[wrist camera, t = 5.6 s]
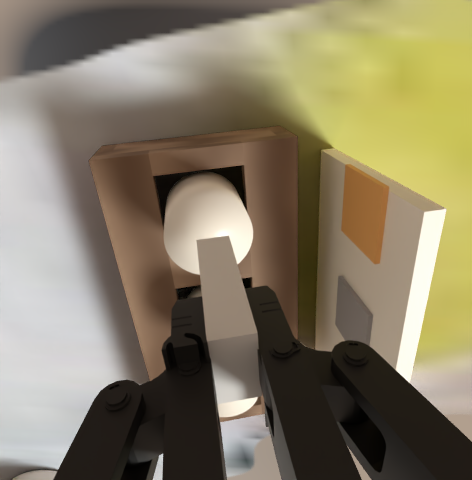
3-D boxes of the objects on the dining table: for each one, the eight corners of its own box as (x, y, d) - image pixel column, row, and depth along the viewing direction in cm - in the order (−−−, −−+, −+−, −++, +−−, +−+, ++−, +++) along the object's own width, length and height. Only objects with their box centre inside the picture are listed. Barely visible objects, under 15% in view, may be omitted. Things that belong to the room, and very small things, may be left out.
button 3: (172, 245, 23) (171, 280, 20) (159, 176, 21) (155, 201, 17) (243, 235, 24) (255, 268, 20) (237, 166, 22) (250, 188, 18)
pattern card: (311, 355, 35) (371, 483, 24) (317, 147, 25) (418, 208, 15) (324, 352, 35) (389, 479, 24) (334, 145, 25) (447, 204, 15)
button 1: (200, 380, 33) (203, 421, 29) (193, 342, 31) (196, 382, 27) (250, 371, 34) (259, 411, 30) (247, 333, 31) (256, 371, 28)
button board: (165, 394, 34) (164, 432, 30) (102, 145, 23) (88, 160, 19) (285, 372, 35) (297, 407, 32) (280, 125, 24) (297, 136, 21)
